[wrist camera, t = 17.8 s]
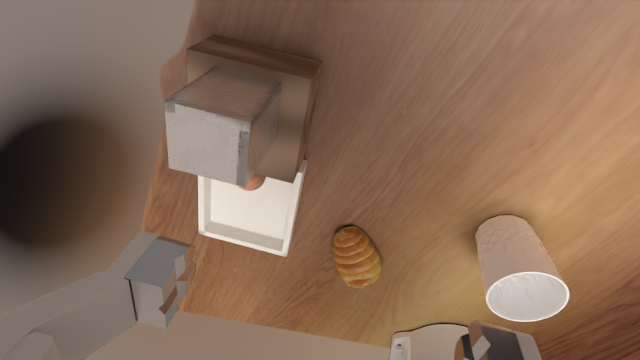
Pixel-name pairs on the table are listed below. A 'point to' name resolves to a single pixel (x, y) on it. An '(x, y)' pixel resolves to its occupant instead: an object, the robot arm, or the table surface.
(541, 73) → the table surface
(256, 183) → the ball
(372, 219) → the table surface
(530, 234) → the white cup
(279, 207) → the tray
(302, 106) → the step block
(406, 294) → the table surface
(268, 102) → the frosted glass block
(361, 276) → the pastry
